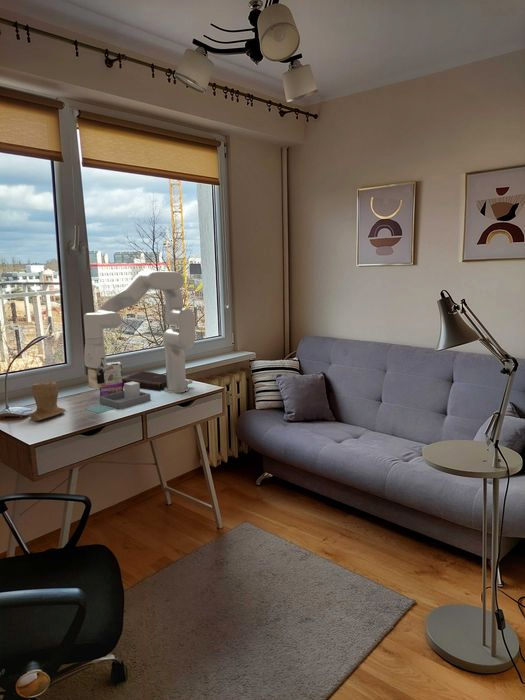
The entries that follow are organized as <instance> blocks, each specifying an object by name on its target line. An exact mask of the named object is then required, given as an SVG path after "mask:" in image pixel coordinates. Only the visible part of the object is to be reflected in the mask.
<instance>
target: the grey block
mask: <svg viewBox="0 0 525 700" xmlns="http://www.w3.org/2000/svg"><path fill="white" fill-rule="evenodd" d="M123 391H124V393H125V400H128V399H132V398H136V397H139V396H140V391H141V388H140V386H139V383H137V382H133V381H132V382H128V383H124V387H123Z"/></svg>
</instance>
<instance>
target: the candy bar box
mask: <svg viewBox="0 0 525 700" xmlns="http://www.w3.org/2000/svg"><path fill="white" fill-rule="evenodd" d="M106 366H107V369H106V371H105V383H106V387H101V388H98V389H99V392H98V393H99V398H100V397H102V396H106V395H110V394H114V393H117V392H121V391H124V387H123V378H124V377H123V368H122V363H121V361H116V362H115V361H113V362H112V361H111V362H106Z"/></svg>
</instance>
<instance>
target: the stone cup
mask: <svg viewBox="0 0 525 700" xmlns="http://www.w3.org/2000/svg"><path fill="white" fill-rule="evenodd" d="M31 395H32V397H33V399H34V401H35V406H36V409H35V411H33V412H31V413H29V414H28V417H29V418H30V419H31V420H32V421H34V422H38V421H42V420H43V421H44V420H45V419H49V418H52V417H55V416H58V415H60V414H63V413H65V412H66V411H67V410H66V409H65V408H61V407H59V406H58V404H57V403H58V397H59V388H58V384H57V382H56V381H43V382H37V383H33V384H32V386H31Z"/></svg>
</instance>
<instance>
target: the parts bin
mask: <svg viewBox="0 0 525 700" xmlns="http://www.w3.org/2000/svg"><path fill="white" fill-rule="evenodd" d="M151 400H152V397H151V393H148V392H146V391H145V392H144V391H141V390H140V396H139V397H136V398H132V399H128V400H125V393H124V390H123V391H121V392H117V393H114V394H110V395H106V396H102V397H100V396H99V405H103V406H107V407H110V408H113V409H116V410H122V409H125V408H128V407H133V406H135V405H140V404H142V403H145V402H149V401H151Z"/></svg>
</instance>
